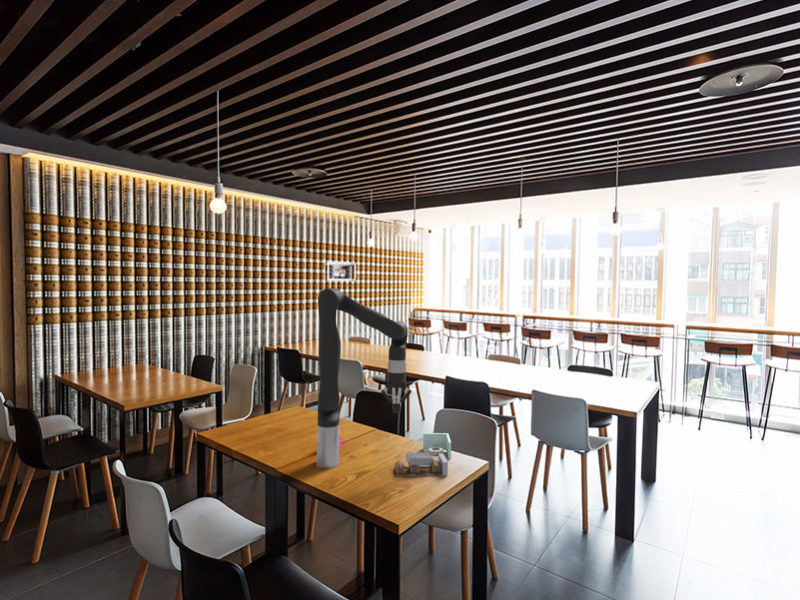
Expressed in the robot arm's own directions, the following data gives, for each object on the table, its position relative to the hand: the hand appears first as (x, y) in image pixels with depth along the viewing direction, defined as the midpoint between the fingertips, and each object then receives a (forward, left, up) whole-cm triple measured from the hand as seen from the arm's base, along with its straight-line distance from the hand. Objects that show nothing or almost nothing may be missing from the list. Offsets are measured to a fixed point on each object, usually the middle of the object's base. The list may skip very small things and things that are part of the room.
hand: (395, 412), depth 178 cm
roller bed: (+9, 0, -25) cm, 27 cm away
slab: (+10, +1, -22) cm, 24 cm away
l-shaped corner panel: (+22, +20, -26) cm, 39 cm away
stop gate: (+20, 0, -25) cm, 33 cm away
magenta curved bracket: (-27, +32, -26) cm, 49 cm away
